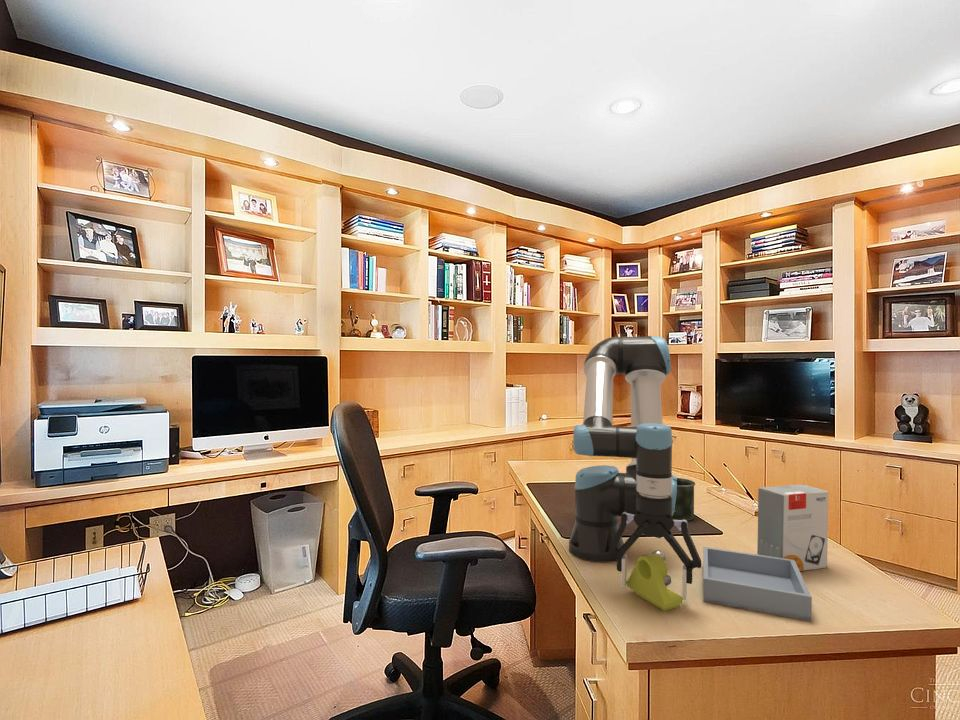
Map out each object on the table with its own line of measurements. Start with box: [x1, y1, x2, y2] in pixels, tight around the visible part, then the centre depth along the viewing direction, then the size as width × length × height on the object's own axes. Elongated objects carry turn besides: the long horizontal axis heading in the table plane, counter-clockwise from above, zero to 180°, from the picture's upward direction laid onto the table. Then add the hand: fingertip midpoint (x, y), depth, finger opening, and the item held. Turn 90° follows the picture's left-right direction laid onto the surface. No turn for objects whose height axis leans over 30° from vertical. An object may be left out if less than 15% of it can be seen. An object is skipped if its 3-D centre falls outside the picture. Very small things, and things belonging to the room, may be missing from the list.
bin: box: [702, 546, 813, 622], centre depth 112 cm, size 20×20×5 cm
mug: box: [672, 477, 696, 522], centre depth 163 cm, size 11×15×12 cm
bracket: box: [626, 553, 684, 612], centre depth 107 cm, size 11×6×10 cm, turn 25°
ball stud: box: [651, 549, 672, 586], centre depth 117 cm, size 6×6×7 cm
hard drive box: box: [756, 483, 829, 572], centre depth 125 cm, size 16×8×20 cm, turn 106°
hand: (653, 591), depth 107 cm, fingers closed on bracket, 12 cm apart
